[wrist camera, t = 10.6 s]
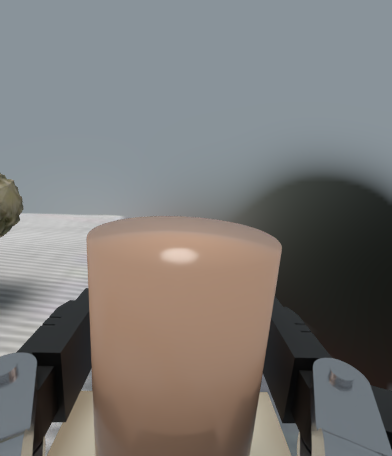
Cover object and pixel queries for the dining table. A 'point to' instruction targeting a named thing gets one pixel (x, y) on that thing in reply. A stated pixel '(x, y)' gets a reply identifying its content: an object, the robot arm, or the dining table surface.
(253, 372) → the tall pink cylinder
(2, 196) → the potted plant
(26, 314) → the dining table surface
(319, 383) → the robot arm
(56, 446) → the base slab
